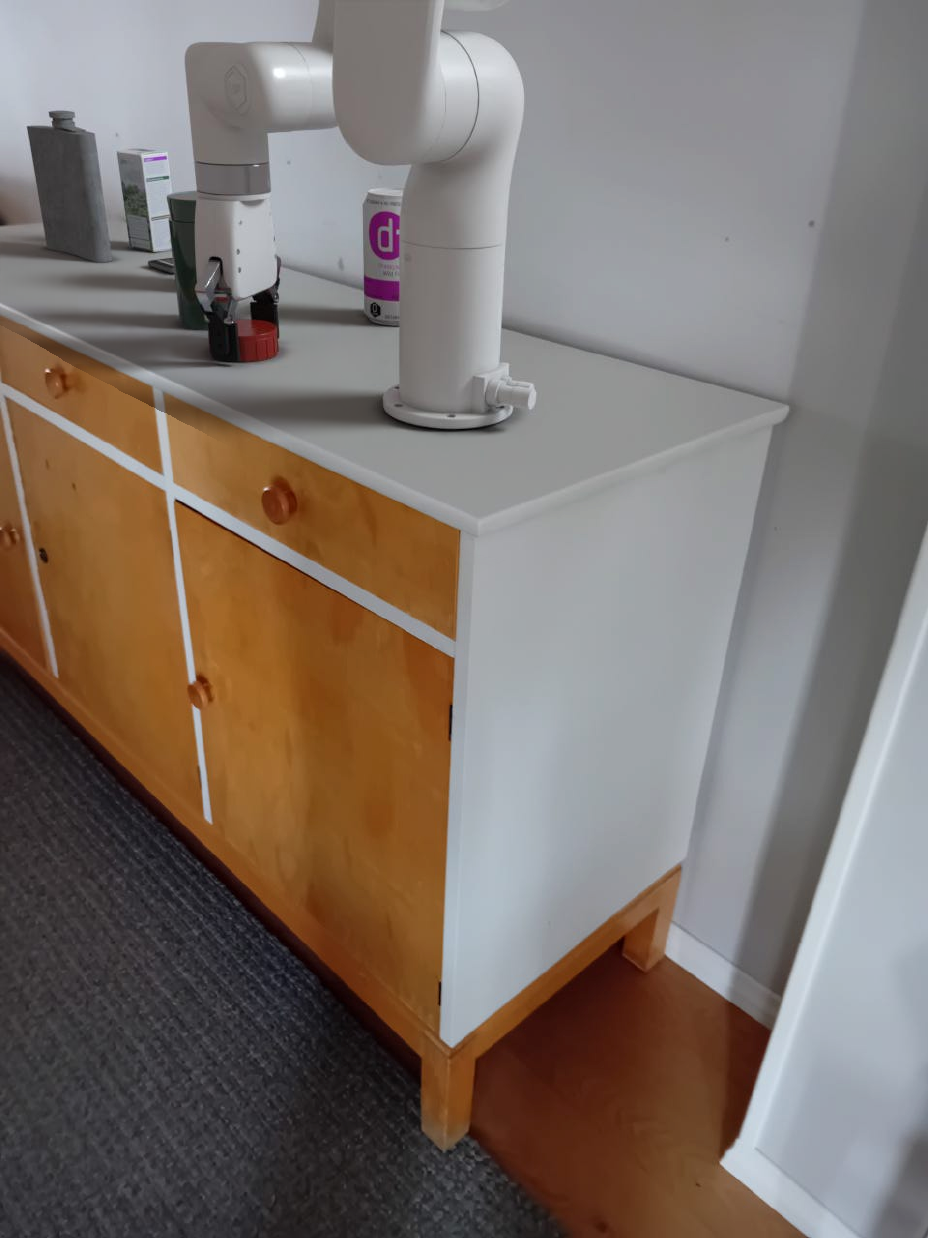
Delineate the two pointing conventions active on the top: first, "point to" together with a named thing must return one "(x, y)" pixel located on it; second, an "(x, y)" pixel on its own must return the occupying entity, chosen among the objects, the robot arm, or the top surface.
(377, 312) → the supplement can
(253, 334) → the lid
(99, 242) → the hip flask
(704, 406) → the top surface
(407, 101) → the robot arm
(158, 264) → the smartphone
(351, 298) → the top surface
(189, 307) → the jar
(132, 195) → the syrup box
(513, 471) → the top surface
